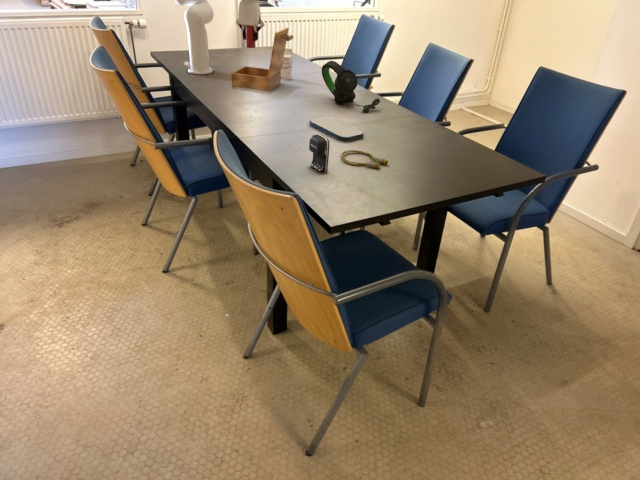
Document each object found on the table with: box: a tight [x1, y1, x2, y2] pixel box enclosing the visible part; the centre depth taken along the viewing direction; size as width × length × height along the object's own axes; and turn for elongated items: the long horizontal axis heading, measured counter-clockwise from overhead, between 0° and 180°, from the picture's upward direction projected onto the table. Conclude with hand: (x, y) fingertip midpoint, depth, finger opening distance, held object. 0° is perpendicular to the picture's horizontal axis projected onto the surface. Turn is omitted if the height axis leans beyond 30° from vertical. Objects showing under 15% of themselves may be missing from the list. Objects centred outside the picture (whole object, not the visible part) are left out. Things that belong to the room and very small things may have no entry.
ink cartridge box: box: [281, 47, 293, 80], centre depth 249 cm, size 9×5×15 cm, turn 84°
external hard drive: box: [309, 115, 364, 142], centre depth 191 cm, size 24×12×2 cm, turn 37°
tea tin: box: [245, 25, 257, 49], centre depth 240 cm, size 5×5×11 cm
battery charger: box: [308, 133, 330, 174], centre depth 157 cm, size 7×4×11 cm, turn 33°
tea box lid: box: [268, 27, 294, 77], centre depth 227 cm, size 20×16×5 cm
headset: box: [321, 60, 381, 113], centre depth 217 cm, size 18×14×29 cm
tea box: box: [230, 65, 282, 92], centre depth 237 cm, size 19×16×7 cm
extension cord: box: [341, 149, 389, 169], centre depth 168 cm, size 12×16×2 cm
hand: (250, 39), depth 241 cm, fingers closed on tea tin, 4 cm apart
